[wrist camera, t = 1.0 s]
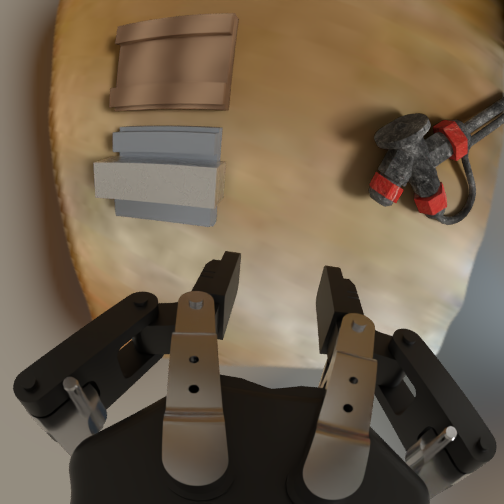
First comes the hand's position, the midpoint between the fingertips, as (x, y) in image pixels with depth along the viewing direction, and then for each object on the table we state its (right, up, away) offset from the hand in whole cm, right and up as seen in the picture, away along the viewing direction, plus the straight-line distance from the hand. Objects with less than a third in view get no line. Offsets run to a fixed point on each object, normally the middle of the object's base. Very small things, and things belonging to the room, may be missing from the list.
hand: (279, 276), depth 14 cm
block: (-11, +10, +17) cm, 22 cm away
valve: (+23, +13, +13) cm, 29 cm away
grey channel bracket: (-11, +10, +18) cm, 24 cm away
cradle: (-10, +22, +12) cm, 27 cm away
